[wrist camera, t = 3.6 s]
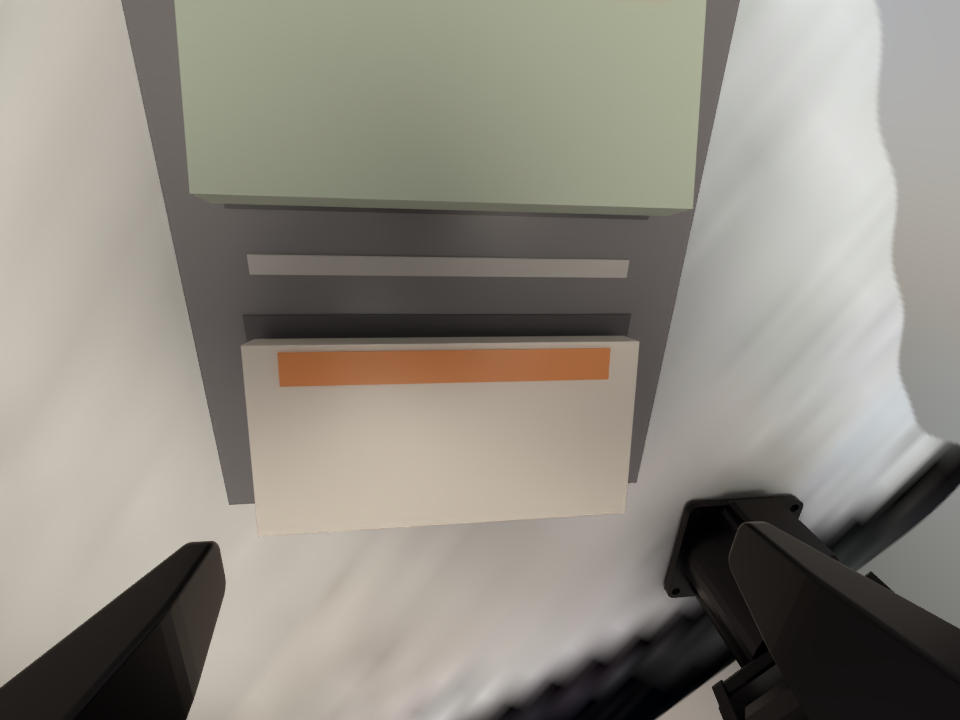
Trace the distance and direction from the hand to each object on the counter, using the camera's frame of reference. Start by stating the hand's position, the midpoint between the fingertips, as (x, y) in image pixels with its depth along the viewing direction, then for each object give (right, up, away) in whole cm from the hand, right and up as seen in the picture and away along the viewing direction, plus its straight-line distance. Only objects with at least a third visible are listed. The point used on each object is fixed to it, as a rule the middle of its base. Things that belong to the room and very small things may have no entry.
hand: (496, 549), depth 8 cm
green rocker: (-1, +10, +5) cm, 11 cm away
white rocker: (-1, +1, +9) cm, 9 cm away
